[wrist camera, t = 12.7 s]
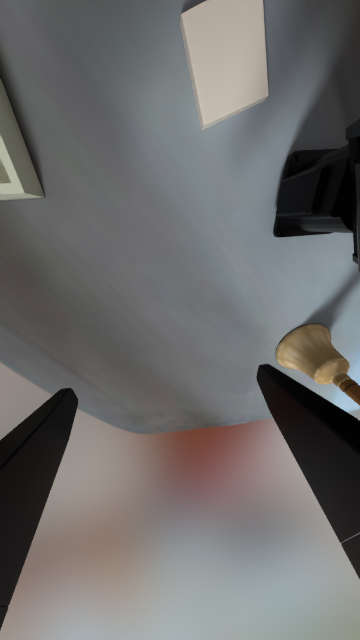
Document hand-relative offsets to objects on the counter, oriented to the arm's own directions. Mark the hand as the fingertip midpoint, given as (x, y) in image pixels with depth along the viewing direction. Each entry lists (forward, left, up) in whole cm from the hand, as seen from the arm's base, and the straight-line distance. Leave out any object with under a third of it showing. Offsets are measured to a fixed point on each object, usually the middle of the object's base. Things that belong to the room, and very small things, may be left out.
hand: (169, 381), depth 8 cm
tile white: (-6, -16, -14) cm, 22 cm away
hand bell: (-20, +11, -13) cm, 26 cm away
